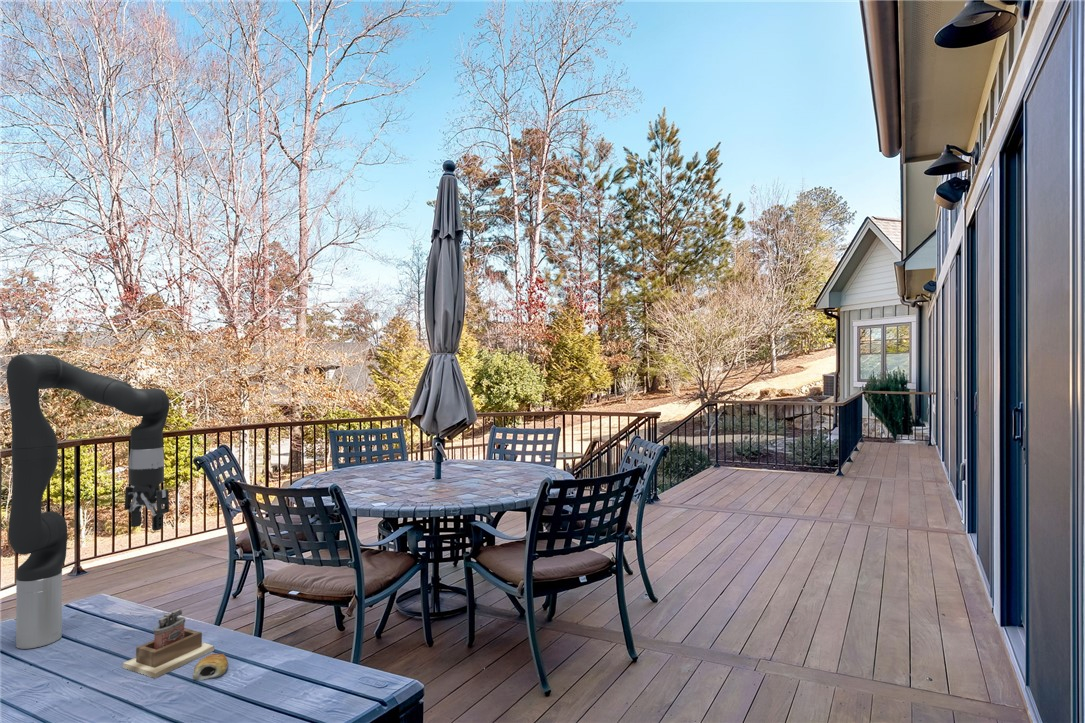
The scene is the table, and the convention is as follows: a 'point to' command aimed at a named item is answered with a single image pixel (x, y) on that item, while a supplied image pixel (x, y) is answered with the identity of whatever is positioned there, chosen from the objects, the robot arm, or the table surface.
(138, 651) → the wooden box with base
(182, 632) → the lighter
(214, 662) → the pastry
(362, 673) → the table surface
